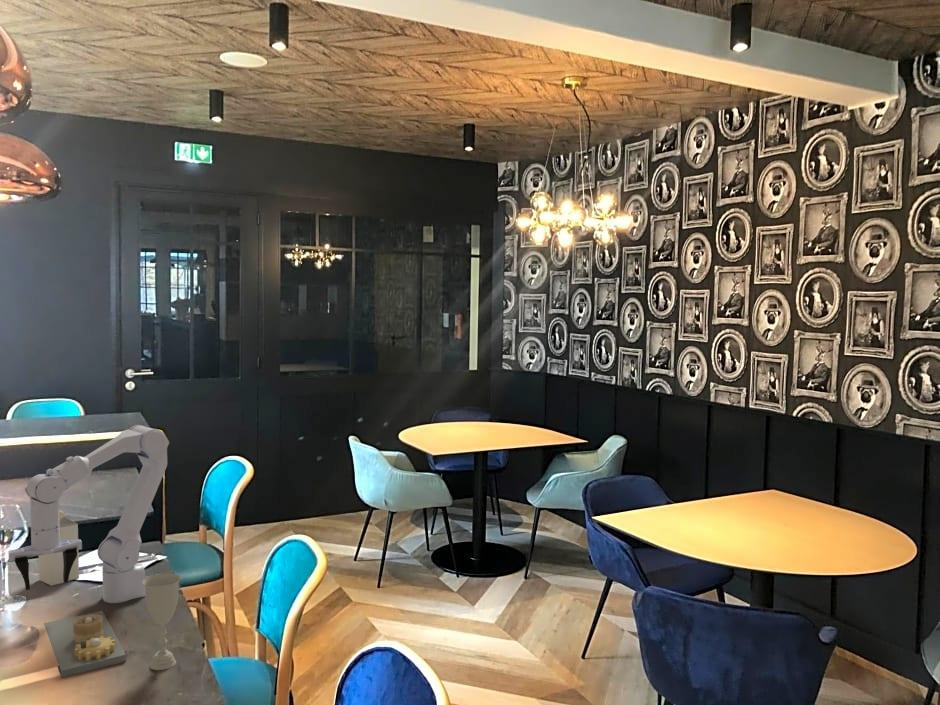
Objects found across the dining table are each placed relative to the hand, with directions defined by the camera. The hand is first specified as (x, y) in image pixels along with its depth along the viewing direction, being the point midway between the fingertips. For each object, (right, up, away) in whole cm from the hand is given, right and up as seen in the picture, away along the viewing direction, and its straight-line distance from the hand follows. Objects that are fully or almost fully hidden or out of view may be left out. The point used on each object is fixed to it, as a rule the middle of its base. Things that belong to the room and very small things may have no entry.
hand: (46, 584), depth 171 cm
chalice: (+34, -12, -17) cm, 39 cm away
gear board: (+13, -10, -9) cm, 19 cm away
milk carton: (-12, -7, +28) cm, 31 cm away
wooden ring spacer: (+14, -9, -9) cm, 19 cm away
